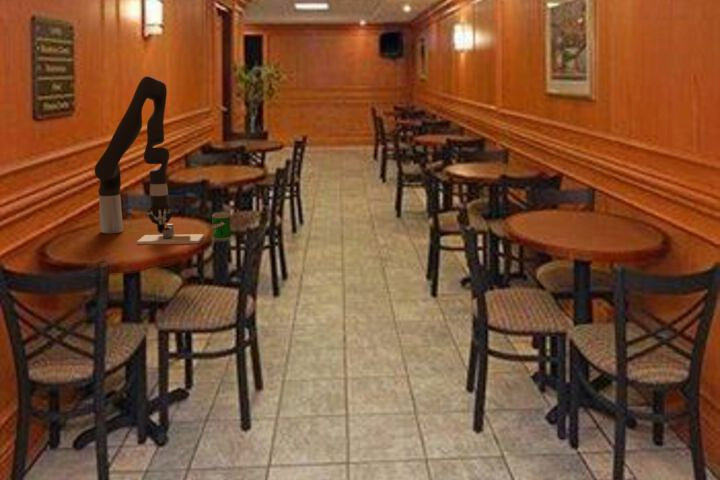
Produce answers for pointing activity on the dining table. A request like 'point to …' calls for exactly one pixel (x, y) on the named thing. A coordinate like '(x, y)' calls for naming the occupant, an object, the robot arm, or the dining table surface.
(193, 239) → the lock board
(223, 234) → the soda can
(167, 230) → the latch bar
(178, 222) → the dining table surface
